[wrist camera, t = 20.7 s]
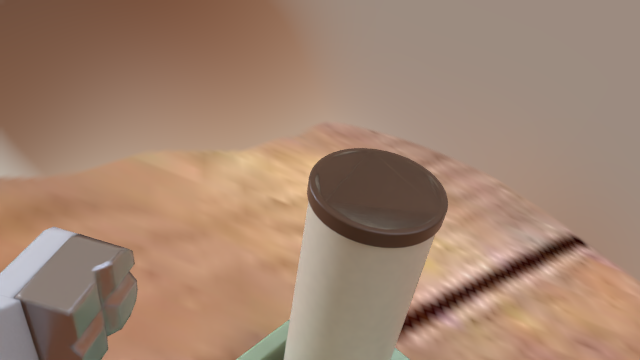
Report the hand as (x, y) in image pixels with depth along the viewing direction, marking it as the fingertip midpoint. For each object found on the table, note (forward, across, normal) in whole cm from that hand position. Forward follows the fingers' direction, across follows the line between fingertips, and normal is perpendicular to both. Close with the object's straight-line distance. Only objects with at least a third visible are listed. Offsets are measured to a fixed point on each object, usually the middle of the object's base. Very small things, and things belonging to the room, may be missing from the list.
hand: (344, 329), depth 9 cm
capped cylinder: (+8, 0, -17) cm, 18 cm away
